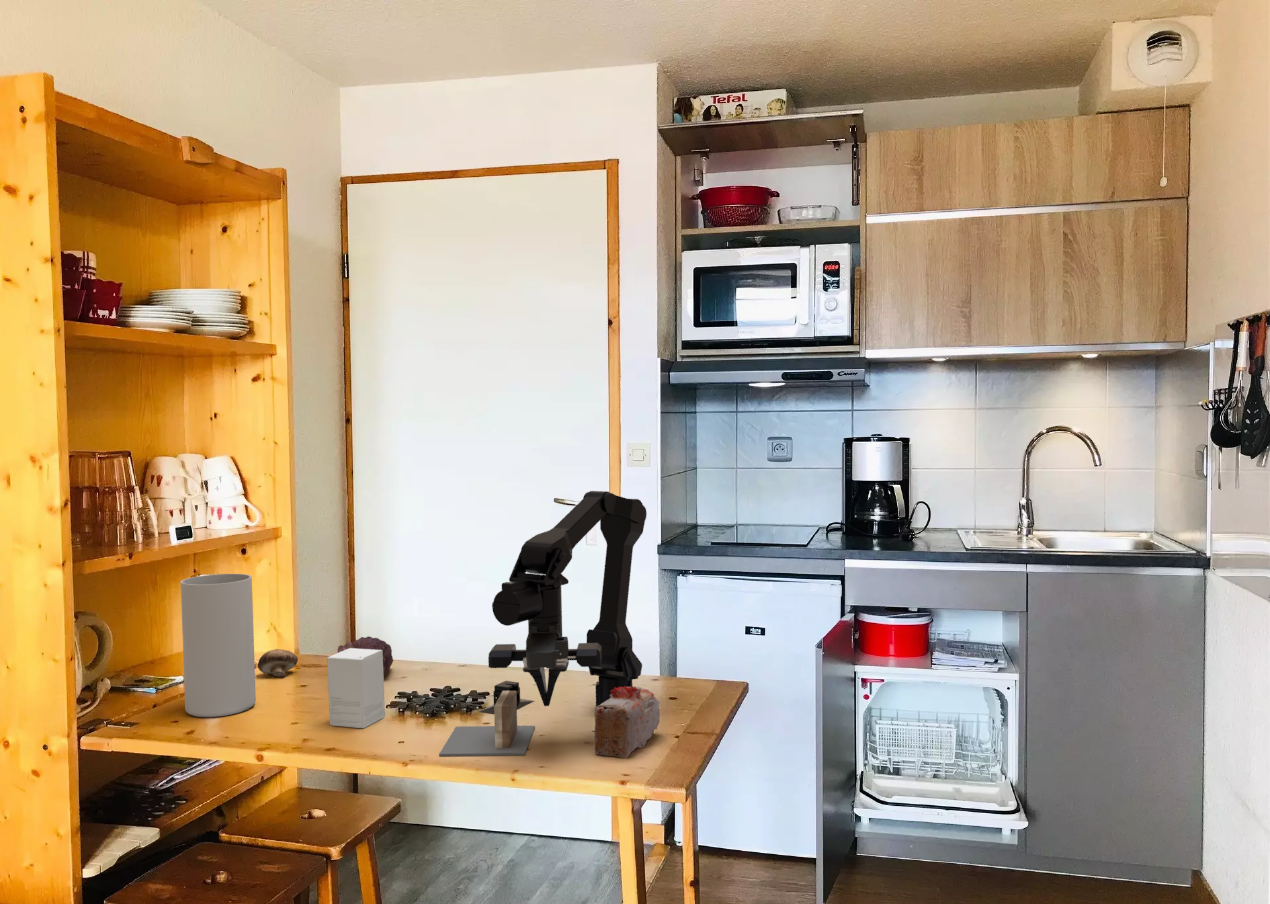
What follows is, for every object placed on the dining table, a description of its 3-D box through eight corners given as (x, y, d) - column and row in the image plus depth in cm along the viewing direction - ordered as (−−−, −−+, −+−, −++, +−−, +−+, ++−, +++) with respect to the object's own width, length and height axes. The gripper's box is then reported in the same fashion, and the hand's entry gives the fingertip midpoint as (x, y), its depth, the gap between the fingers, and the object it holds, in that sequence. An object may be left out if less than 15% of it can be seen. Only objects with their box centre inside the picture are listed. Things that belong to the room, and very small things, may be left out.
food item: (619, 729, 174) (618, 674, 173) (663, 734, 171) (662, 677, 171) (590, 755, 161) (589, 695, 160) (636, 760, 158) (635, 699, 158)
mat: (534, 727, 175) (534, 725, 175) (524, 755, 161) (524, 752, 161) (455, 728, 176) (455, 726, 176) (439, 756, 162) (439, 753, 162)
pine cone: (364, 667, 220) (389, 629, 220) (395, 693, 216) (419, 654, 216) (314, 664, 203) (340, 623, 203) (345, 693, 199) (372, 651, 199)
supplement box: (386, 717, 183) (384, 649, 183) (363, 729, 176) (360, 659, 176) (352, 713, 186) (350, 646, 185) (327, 725, 179) (325, 656, 178)
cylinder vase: (261, 711, 188) (257, 580, 187) (189, 722, 182) (185, 587, 181) (249, 695, 199) (245, 571, 198) (181, 705, 192) (176, 577, 191)
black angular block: (503, 721, 181) (502, 695, 181) (469, 716, 185) (468, 690, 184) (542, 702, 193) (542, 677, 193) (509, 697, 196) (508, 673, 196)
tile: (517, 730, 173) (516, 690, 173) (509, 747, 164) (508, 706, 164) (503, 730, 173) (502, 690, 173) (495, 747, 164) (494, 706, 164)
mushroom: (287, 666, 209) (282, 639, 212) (253, 681, 209) (248, 654, 212) (306, 675, 216) (301, 649, 219) (273, 689, 216) (269, 663, 219)
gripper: (481, 625, 159) (484, 721, 160) (597, 623, 159) (599, 719, 160) (492, 611, 171) (494, 700, 171) (601, 609, 170) (602, 699, 171)
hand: (546, 705), depth 168 cm, fingers closed
